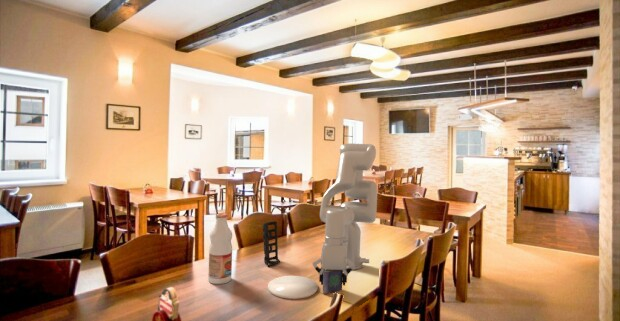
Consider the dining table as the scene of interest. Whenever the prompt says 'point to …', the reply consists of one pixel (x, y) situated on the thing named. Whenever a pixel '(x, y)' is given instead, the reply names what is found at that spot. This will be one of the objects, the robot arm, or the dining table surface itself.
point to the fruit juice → (220, 251)
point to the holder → (266, 244)
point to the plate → (292, 287)
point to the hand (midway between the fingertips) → (332, 283)
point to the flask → (332, 281)
